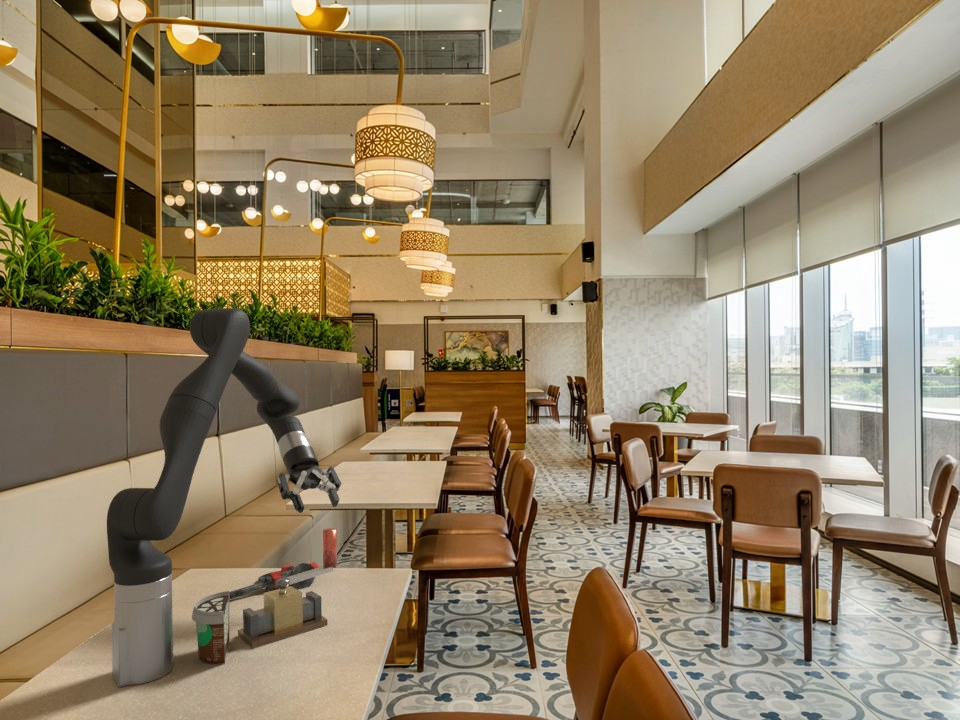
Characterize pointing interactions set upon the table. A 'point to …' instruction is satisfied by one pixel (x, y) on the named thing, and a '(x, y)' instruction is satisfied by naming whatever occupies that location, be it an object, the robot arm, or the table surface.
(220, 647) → the food container
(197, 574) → the table surface
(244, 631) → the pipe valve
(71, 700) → the table surface
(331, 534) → the lever
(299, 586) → the valve
